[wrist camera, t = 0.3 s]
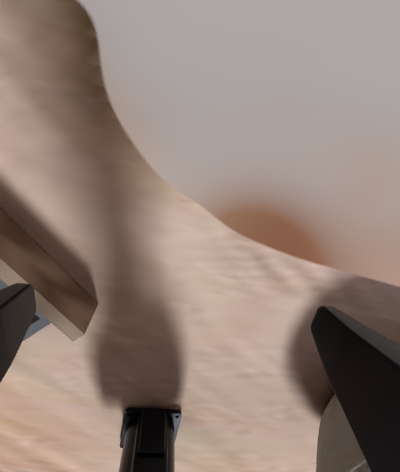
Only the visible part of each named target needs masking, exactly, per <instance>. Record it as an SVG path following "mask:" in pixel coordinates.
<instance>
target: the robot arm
mask: <svg viewBox="0 0 400 472" xmlns="http://www.w3.org/2000/svg"><path fill="white" fill-rule="evenodd" d="M35 313H36V300H35V292H34V287H33V285H31V284H25V283H15V284H13V285H10V286H8V287H6V288H4V289H1V290H0V382H1V381H2V379H3V377H4V376H5V374H6V372H7V371H8V369H9V367H10V365H11V363H12V362H13V360H14V358H15V356H16V353H17V351H18V349H19V347H20V345H21V343H22V341H23V339H24V337H25V334H26V332H27V330H28V328H29V326H30V324H31V322H32V320H33V318H34V315H35ZM311 332H312V335H313V338H314V340H315V343H316V346H317V349H318V352H319V355H320V357H321V360H322V363H323V366H324V369H325V371H326V374H327V377H328V379H329V381H330V383H331V386H332V388H333V390H334V392H335V394H336V397H337V399H338V401H339V403H340V405H341V407H342V410H343V412H344V414H345V416H346V418H347V421H348V423H349V425H350V427H351V429H352V431H353V434H354V436H355V438H356V440H357V442H358V444H359V447H360V449H361V451H362V453H363V455H364V458H365V460H366V462H367V464H368V466H369V468H370V471H371V472H400V346H398V345H396V344H395V343H393V342H391V341H390V340H388V339H386V338H385V337H383V336H381V335H380V334H378V333H376V332H375V331H373V330H371V329H370V328H368V327H366V326H365V325H363V324H361V323H360V322H358V321H356V320H355V319H353V318H351V317H350V316H348V315H346V314H344V313H343V312H341V311H339V310H338V309H336V308H334V307H332V306H320V307H319V308H318V309H317V311H316V314H315V316H314V319H313V321H312V324H311ZM180 421H181V411H178V410H161V409H141V408H127V409H126V410H125V416H124V422H123V429H122V435H121V442H120V447H121V448H123V450H122V456H121V462H120V469H119V472H174V443H175V439H176V436H177V432H178V428H179V424H180Z"/></svg>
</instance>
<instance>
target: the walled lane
mask: <svg viewBox="0 0 400 472" xmlns="http://www.w3.org/2000/svg"><path fill="white" fill-rule="evenodd" d="M0 279H1V280H2V281H4V282H5V283H6V284H7V285H8V286H10V285H13V284H15V283H25V284H31V285H33V287H34V292H35V300H36V310H37V311H38V312H39V313H41V314H42V315H43V316H44V317H45V318H46V319H48V320H49V321H50V322H51V323H52V324H53V325H55V326H56V327H57V328H58V329H59V330H60V331H61V332H63V333H64V334H65V335H66V336H67V337H68V338H70V339H71V340H72V341H74V340H76V339H78V338H79V337H81V336H82V335H84V334H85V332H86V330H87V327H88V325H89V323H90V321H91V319H92V316H93V314H94V312H95V310H96V307H97V305H98V303H97V302H96V301H95V300H94V299H93V298H92V297H91V296H90V295H89V294H88V293H87V292H86V291H84V290H83V289H82V288H81V287H80V286H79V285H78V284H77V283H76V282H75V281H74V280H73V279H72V278H71V277H70V276H69V275H68V274H67V273H66V272H65V271H64V270H63V269H62V268H61V267H60V266H59V265H58V264H57V263H56V262H55V261H54V260H53V259H52V258H51V257H50V256H49V255H48V254H47V253H46V252H45V251H44V250H43V249H42V248H41V247H40V246H39V245H38V244H37V243H36V242H35V241H34V240H33V239H32V238H31V237H29V236H28V235H27V234H26V233H25V232H24V231H23V230H22V229H21V228H20V227H19V226H18V225H17V224H16V223H15V222H14V221H13V220H12V219H11V218H10V217H9V216H8V215H7V214H6V213H5V212H4V211H3V210H2V209H1V208H0Z"/></svg>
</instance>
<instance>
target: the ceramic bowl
mask: <svg viewBox="0 0 400 472" xmlns="http://www.w3.org/2000/svg"><path fill="white" fill-rule="evenodd" d="M316 472H371V471H370V468H369V466H368V464H367V462H366V460H365V458H364V455H363V453H362V451H361V449H360V447H359V444H358V442H357V440H356V438H355V436H354V434H353V431H352V429H351V427H350V425H349V423H348V421H347V418H346V416H345V414H344V412H343V410H342V407H341V405H340V403H339V401H338V399H337V397H336V394H335V395H334V396H333V397H332V398H331V400H330V402H329V404H328V405H327V407H326V408H325V410H324V412H323V415H322V419H321V422H320V427H319V435H318V445H317V466H316Z"/></svg>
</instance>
